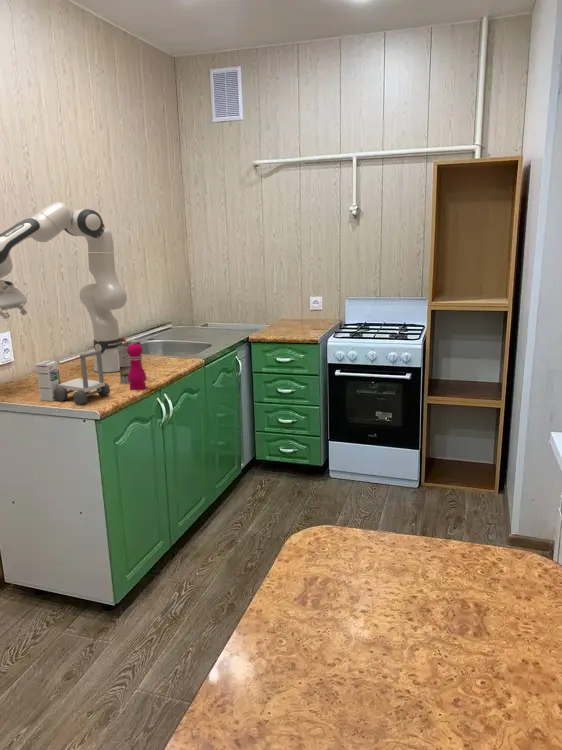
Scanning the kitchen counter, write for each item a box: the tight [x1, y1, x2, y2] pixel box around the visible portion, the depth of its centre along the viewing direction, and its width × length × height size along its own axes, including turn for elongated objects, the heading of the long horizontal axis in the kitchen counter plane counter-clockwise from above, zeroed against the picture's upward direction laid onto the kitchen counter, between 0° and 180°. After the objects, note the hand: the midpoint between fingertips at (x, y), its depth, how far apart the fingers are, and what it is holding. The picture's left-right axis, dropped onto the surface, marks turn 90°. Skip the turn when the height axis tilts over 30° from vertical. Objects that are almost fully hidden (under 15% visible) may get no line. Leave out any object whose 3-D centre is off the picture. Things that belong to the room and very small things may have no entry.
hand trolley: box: [54, 350, 111, 406], centre depth 223 cm, size 14×15×19 cm
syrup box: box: [35, 360, 61, 402], centre depth 223 cm, size 6×6×14 cm
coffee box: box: [118, 341, 143, 384], centre depth 247 cm, size 9×6×16 cm
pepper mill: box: [127, 339, 147, 391], centre depth 235 cm, size 7×7×20 cm
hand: (16, 315), depth 224 cm, fingers open, 8 cm apart
